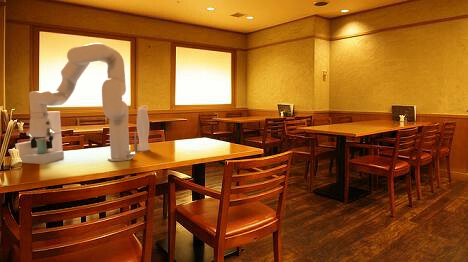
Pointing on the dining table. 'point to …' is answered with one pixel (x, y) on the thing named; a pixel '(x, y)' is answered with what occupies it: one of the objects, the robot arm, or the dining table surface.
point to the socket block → (42, 157)
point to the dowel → (41, 146)
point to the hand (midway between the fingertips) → (41, 148)
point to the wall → (25, 148)
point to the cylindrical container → (56, 130)
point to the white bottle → (142, 130)
